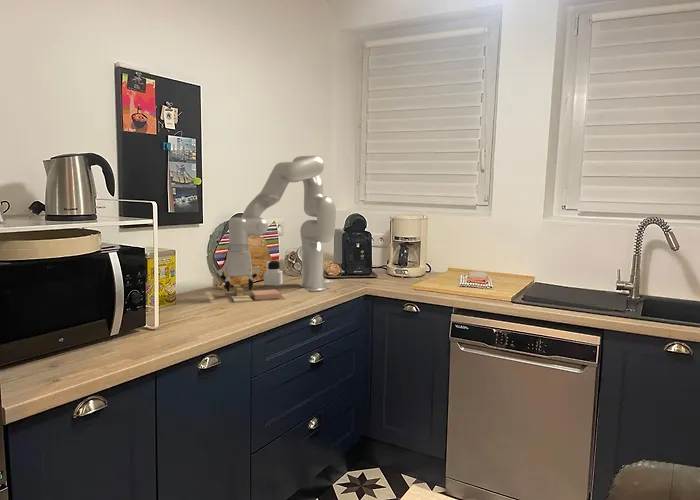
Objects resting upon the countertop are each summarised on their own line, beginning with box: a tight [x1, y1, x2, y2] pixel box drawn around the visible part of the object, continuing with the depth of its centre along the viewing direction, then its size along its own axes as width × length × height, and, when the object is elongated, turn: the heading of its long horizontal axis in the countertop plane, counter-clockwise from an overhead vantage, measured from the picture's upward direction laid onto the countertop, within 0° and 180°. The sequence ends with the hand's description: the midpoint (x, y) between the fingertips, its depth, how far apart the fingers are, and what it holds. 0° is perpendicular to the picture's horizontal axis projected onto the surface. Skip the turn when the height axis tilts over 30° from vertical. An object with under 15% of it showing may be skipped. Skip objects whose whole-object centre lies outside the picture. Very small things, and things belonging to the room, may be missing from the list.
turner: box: [231, 284, 252, 303], centre depth 212 cm, size 17×7×4 cm, turn 21°
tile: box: [251, 289, 281, 300], centre depth 213 cm, size 10×2×8 cm
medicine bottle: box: [263, 260, 283, 287], centre depth 241 cm, size 7×7×12 cm
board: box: [224, 292, 286, 304], centre depth 214 cm, size 22×16×2 cm
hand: (239, 290), depth 214 cm, fingers open, 8 cm apart
